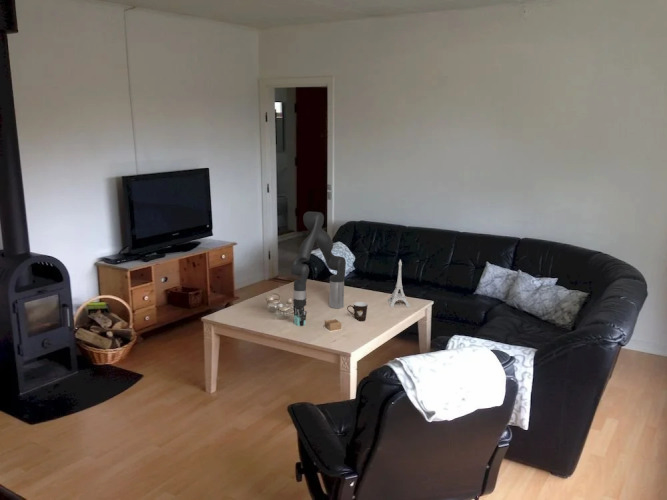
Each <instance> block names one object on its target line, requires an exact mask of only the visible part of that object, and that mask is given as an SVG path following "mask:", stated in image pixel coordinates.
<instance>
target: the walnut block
mask: <svg viewBox="0 0 667 500" xmlns="http://www.w3.org/2000/svg"><path fill="white" fill-rule="evenodd" d="M324 327H325V328H326V329H328V330H329V331H332V332H336V331H335V330H338V331H342V330H341V329H342V322H341V321H339V320H338V319H328V320H324ZM325 328H324V329H325ZM328 330H327V331H328ZM329 331H328V332H329Z"/></svg>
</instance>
